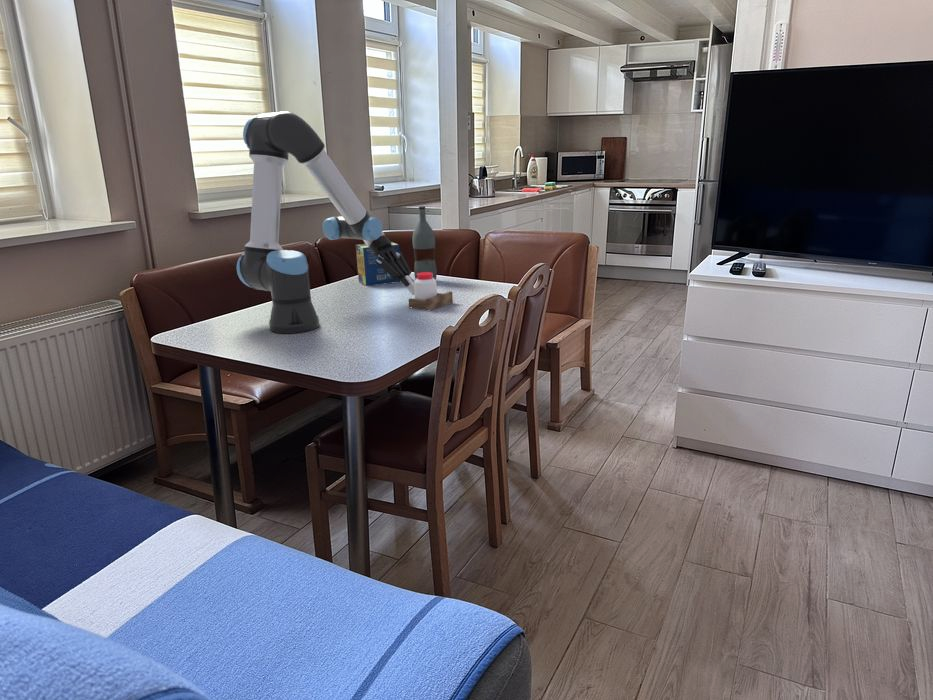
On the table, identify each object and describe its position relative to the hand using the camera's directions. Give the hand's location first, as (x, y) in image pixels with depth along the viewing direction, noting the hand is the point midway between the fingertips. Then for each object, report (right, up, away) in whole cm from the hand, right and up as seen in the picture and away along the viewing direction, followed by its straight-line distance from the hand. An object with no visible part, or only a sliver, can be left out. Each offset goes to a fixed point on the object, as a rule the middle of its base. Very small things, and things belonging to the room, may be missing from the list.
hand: (415, 292), depth 230 cm
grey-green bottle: (+1, +7, +37) cm, 38 cm away
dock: (+5, -5, -2) cm, 7 cm away
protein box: (-18, +8, +41) cm, 45 cm away
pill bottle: (+4, -5, -2) cm, 7 cm away
